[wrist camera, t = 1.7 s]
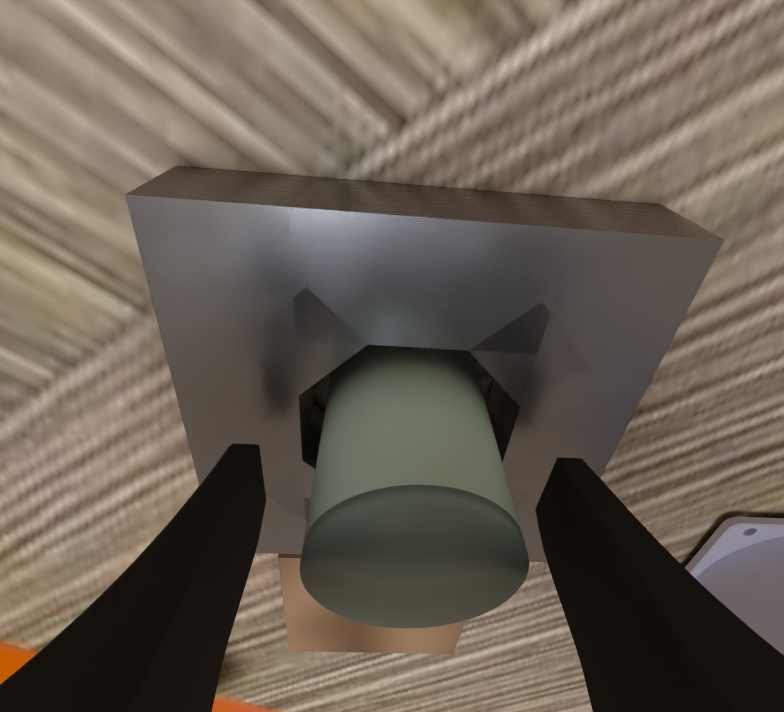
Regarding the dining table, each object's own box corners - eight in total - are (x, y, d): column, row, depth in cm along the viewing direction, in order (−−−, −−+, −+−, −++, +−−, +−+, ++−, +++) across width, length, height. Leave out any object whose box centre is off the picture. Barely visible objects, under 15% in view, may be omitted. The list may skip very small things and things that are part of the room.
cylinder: (487, 321, 13) (558, 509, 8) (461, 433, 16) (501, 630, 10) (332, 311, 13) (294, 497, 8) (331, 426, 15) (303, 625, 10)
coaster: (482, 551, 20) (485, 564, 19) (451, 642, 25) (453, 653, 25) (280, 544, 19) (277, 557, 19) (290, 638, 25) (289, 650, 24)
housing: (661, 205, 11) (724, 240, 9) (536, 503, 18) (555, 562, 16) (175, 166, 11) (124, 194, 8) (236, 491, 17) (216, 551, 15)
